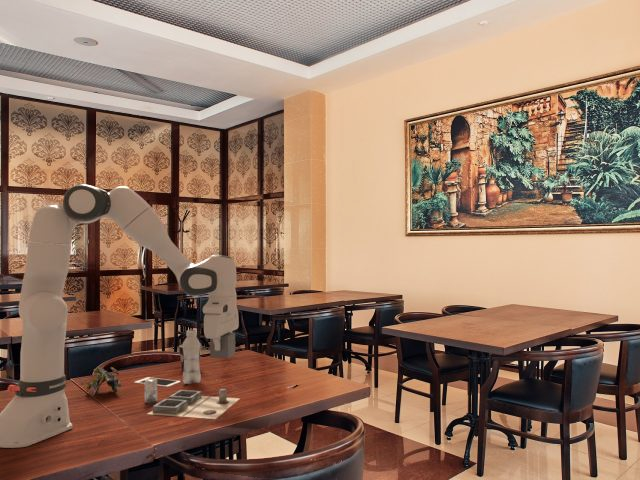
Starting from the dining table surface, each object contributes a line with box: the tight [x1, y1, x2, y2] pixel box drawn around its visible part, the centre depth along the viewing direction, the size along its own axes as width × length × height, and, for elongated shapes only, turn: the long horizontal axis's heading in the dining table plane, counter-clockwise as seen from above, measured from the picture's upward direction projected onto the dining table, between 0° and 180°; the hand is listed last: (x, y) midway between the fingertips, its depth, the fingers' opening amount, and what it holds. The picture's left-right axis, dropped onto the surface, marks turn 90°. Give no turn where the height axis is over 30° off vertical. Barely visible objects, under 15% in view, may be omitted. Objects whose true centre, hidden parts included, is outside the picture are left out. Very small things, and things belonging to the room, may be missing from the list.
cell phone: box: [133, 376, 181, 388], centre depth 194 cm, size 8×16×1 cm, turn 68°
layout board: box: [147, 388, 241, 420], centre depth 160 cm, size 20×22×6 cm
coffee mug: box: [179, 344, 201, 372], centre depth 211 cm, size 12×9×10 cm
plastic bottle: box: [182, 329, 202, 385], centre depth 191 cm, size 6×7×20 cm
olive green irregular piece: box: [80, 366, 122, 398], centre depth 178 cm, size 11×11×12 cm
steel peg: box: [144, 379, 158, 404], centre depth 170 cm, size 4×4×7 cm
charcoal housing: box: [209, 332, 236, 359], centre depth 164 cm, size 6×6×7 cm
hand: (222, 347), depth 164 cm, fingers closed on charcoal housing, 6 cm apart
